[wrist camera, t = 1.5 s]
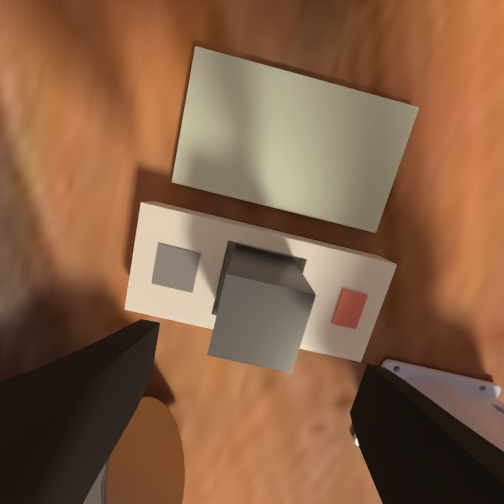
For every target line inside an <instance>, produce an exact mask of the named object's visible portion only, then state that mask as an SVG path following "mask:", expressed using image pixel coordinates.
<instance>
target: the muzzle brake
mask: <svg viewBox="0 0 504 504" xmlns="http://www.w3.org/2000/svg"><path fill="white" fill-rule="evenodd" d="M184 484H185V466H184V453H183V447H182V441H181V437H180V433H179V429H178V426H177V423H176V421H175V419H174V417H173V415H172V413H171V411H170V410H169V408H168V407H167V406H166V405H165V404H164V403H163V402H162V401H160V400H159V399H157V398H155V397H150V396H143V397H142V399H141V401H140V403H139V405H138V407H137V409H136V411H135V413H134V415H133V416H132V418H131V420H130V422H129V423H128V425H127V427H126V429H125V430H124V432H123V434H122V436H121V437H120V439H119V441H118V443H117V444H116V446H115V448H114V449H113V451H112V453H111V455H110V456H109V458H108V460H107V462H106V463H105V465H104V467H103V469H102V470H101V472H100V474H99V475H98V477H97V479H96V481H95V482H94V484H93V486H92V488H91V490H90V491H89V493H88V495H87V497H86V499H85V501H84V503H83V504H182V502H183V495H184Z"/></svg>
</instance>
